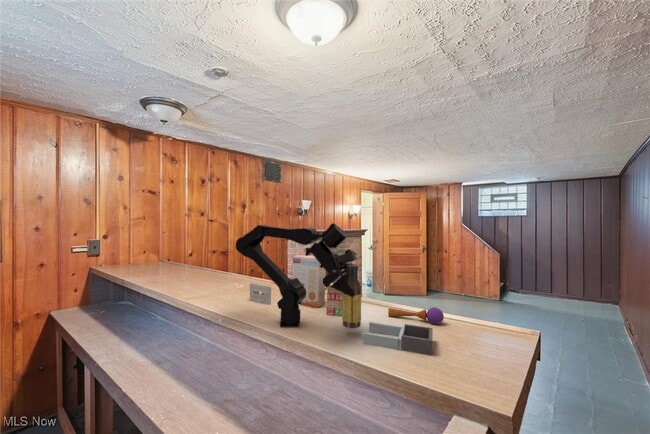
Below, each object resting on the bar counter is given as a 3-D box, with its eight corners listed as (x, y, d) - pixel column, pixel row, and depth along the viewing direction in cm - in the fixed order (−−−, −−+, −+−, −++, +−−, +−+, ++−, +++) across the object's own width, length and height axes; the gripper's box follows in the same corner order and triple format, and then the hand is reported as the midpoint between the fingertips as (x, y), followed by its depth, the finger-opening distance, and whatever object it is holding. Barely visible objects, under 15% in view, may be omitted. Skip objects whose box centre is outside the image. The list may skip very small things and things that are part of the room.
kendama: (390, 304, 120) (443, 307, 112) (390, 319, 119) (444, 324, 111) (387, 305, 115) (442, 308, 107) (387, 321, 114) (443, 326, 106)
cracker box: (325, 305, 129) (326, 257, 129) (317, 308, 124) (319, 258, 124) (299, 299, 136) (300, 254, 136) (291, 302, 131) (292, 255, 131)
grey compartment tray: (362, 343, 91) (362, 329, 91) (369, 330, 101) (370, 318, 101) (432, 355, 84) (432, 341, 84) (432, 340, 94) (432, 327, 94)
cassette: (271, 304, 128) (272, 286, 128) (268, 305, 127) (269, 287, 127) (251, 299, 134) (252, 282, 134) (248, 300, 133) (249, 283, 133)
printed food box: (333, 300, 137) (334, 273, 137) (347, 301, 136) (348, 274, 136) (326, 315, 116) (327, 283, 116) (342, 316, 115) (343, 284, 115)
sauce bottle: (360, 323, 100) (362, 264, 100) (361, 330, 94) (363, 267, 94) (341, 321, 101) (343, 263, 101) (340, 328, 95) (343, 266, 95)
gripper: (333, 243, 90) (368, 284, 86) (350, 240, 108) (379, 273, 104) (308, 267, 93) (341, 307, 89) (328, 259, 110) (356, 293, 107)
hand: (356, 293), depth 97 cm, fingers closed on sauce bottle, 6 cm apart
